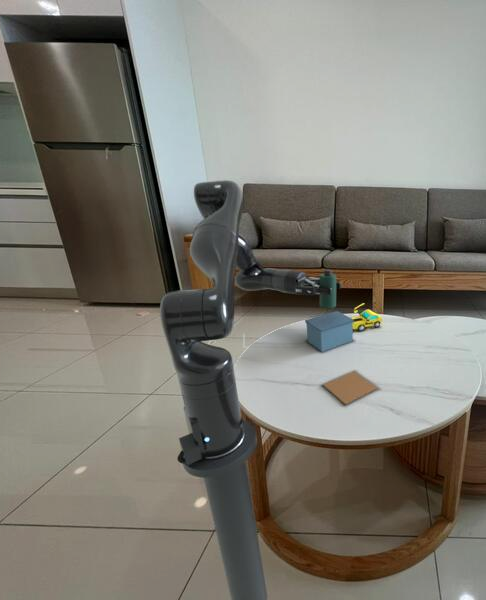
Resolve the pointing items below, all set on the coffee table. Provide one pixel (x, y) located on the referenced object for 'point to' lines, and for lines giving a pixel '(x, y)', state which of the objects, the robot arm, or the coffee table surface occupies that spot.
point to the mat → (349, 387)
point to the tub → (329, 330)
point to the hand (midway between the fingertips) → (335, 288)
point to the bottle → (328, 281)
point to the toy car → (366, 319)
